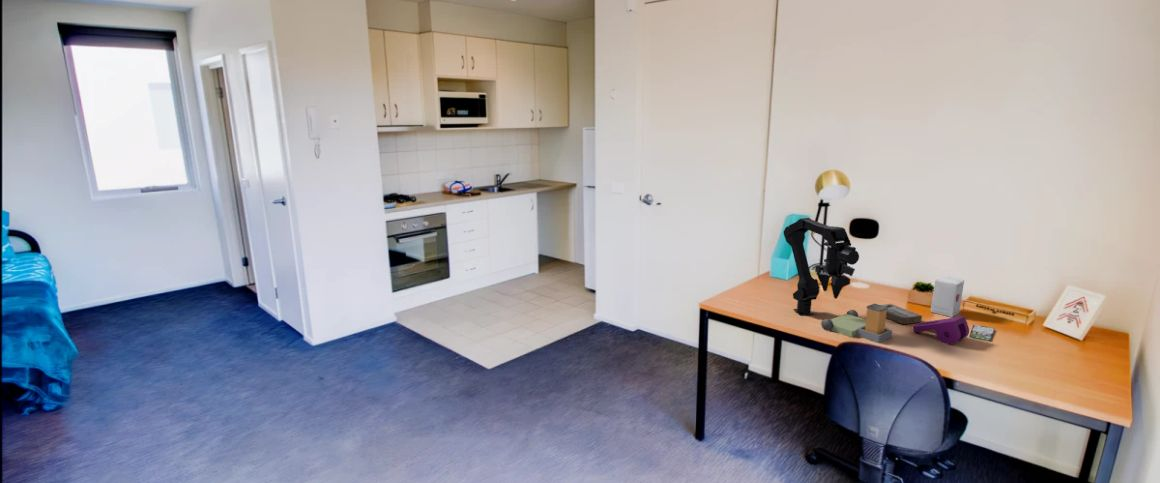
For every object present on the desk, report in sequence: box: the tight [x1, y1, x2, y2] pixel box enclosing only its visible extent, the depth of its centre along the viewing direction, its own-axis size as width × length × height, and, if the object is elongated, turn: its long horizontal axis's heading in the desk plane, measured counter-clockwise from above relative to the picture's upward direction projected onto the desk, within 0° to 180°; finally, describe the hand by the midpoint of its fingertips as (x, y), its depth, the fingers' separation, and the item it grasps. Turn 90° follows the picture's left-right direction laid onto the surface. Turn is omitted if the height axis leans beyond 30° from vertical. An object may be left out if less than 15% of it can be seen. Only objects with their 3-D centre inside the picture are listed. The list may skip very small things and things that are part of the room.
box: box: [880, 303, 923, 325], centre depth 262 cm, size 11×17×3 cm, turn 17°
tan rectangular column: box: [865, 303, 888, 335], centre depth 241 cm, size 6×6×12 cm
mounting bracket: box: [912, 316, 970, 345], centre depth 242 cm, size 9×8×18 cm
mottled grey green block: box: [968, 324, 995, 343], centre depth 244 cm, size 7×1×15 cm
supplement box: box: [930, 275, 965, 318], centre depth 266 cm, size 9×9×15 cm
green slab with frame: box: [820, 309, 893, 344], centre depth 247 cm, size 22×19×4 cm
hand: (830, 294), depth 252 cm, fingers open, 9 cm apart
